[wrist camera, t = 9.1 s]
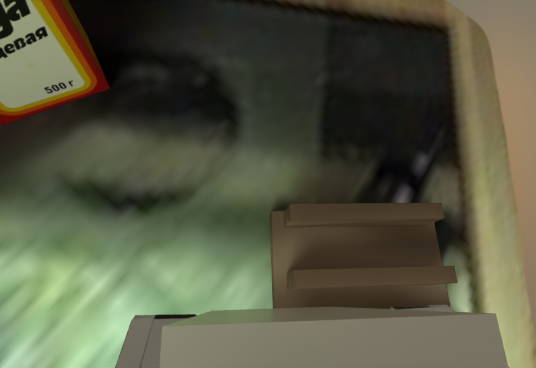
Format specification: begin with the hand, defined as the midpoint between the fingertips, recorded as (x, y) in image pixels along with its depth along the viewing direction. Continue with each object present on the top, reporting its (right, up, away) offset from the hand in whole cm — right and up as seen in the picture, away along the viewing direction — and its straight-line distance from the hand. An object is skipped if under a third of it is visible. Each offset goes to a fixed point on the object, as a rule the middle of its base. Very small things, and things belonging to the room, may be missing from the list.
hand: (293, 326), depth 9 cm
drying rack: (+7, -6, +19) cm, 21 cm away
